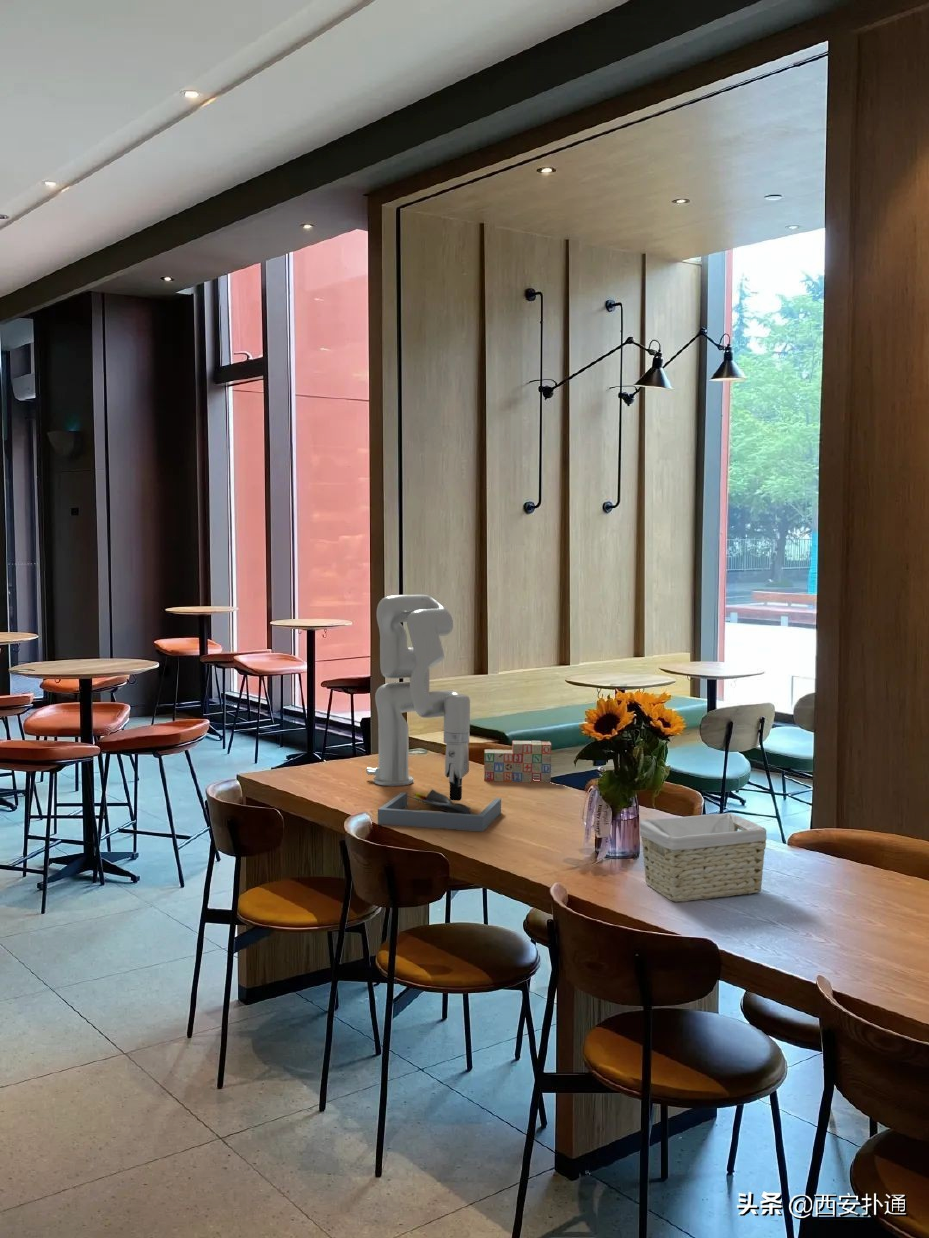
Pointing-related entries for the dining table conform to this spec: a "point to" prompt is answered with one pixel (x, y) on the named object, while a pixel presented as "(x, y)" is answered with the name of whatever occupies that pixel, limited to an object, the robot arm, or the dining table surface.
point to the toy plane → (441, 802)
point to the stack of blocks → (519, 762)
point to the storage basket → (703, 856)
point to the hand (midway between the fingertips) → (455, 799)
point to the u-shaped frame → (436, 816)
